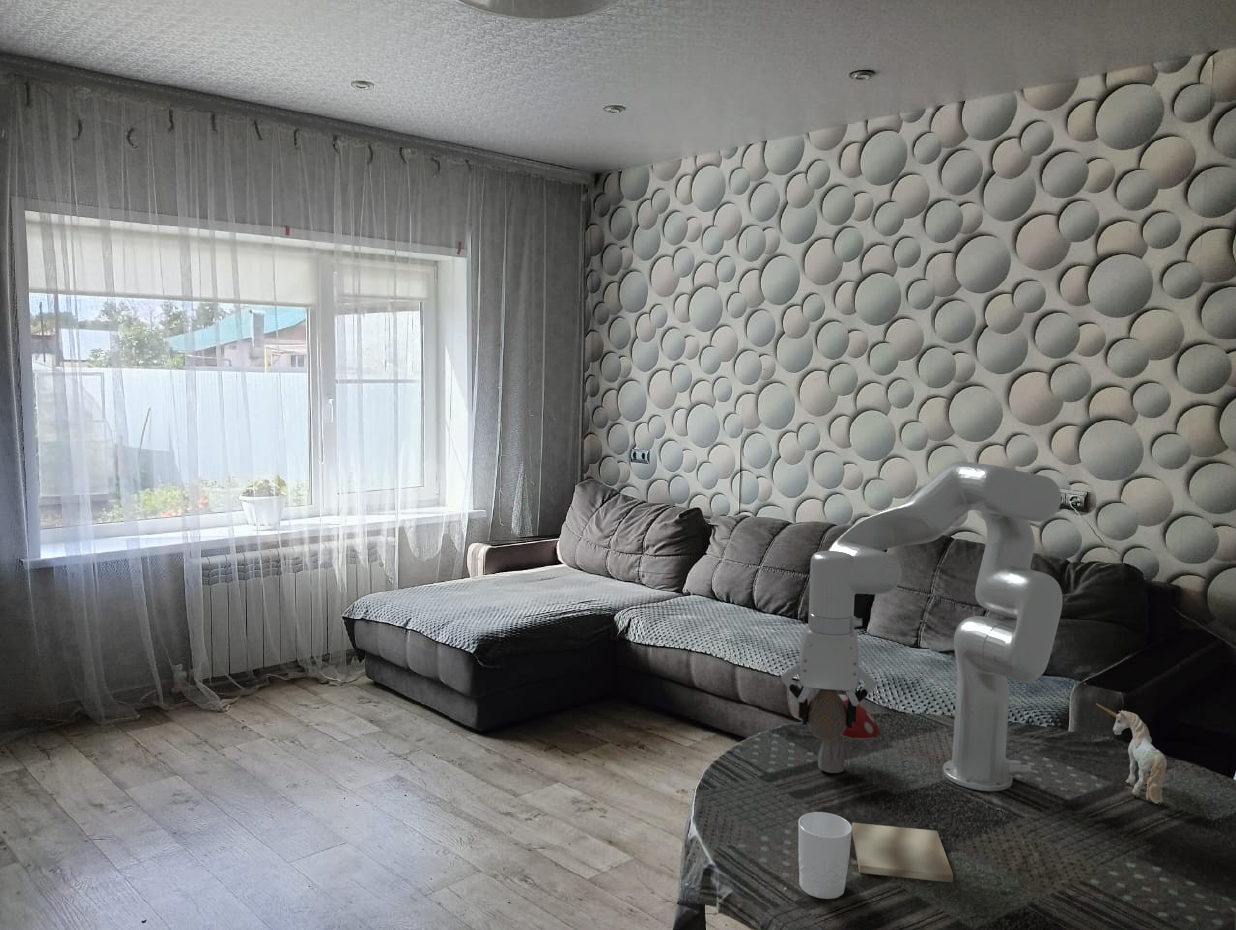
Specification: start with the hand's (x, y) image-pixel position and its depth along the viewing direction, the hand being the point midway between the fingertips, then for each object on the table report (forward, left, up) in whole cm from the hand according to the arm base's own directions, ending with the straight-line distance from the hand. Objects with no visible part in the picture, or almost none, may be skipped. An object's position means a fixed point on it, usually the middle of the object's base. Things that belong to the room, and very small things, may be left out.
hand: (826, 722), depth 161 cm
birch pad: (-12, +10, -17) cm, 23 cm away
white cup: (+1, +22, -17) cm, 29 cm away
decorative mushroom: (-4, -21, -17) cm, 27 cm away
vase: (0, 0, -3) cm, 3 cm away
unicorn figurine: (-58, -24, -18) cm, 65 cm away
